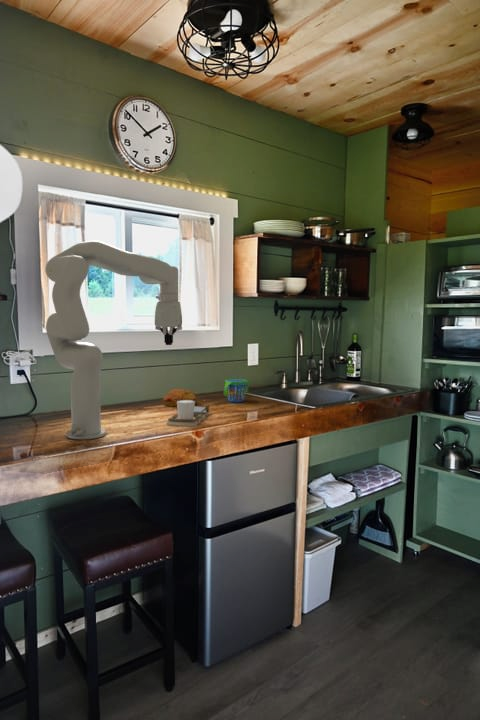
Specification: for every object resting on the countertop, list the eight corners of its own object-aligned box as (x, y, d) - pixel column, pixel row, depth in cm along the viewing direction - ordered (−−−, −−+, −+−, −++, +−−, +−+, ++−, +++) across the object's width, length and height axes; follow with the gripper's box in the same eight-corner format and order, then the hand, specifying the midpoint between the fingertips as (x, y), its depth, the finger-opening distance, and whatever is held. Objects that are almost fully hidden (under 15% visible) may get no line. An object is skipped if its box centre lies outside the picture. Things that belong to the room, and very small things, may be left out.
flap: (200, 414, 195) (200, 411, 195) (178, 413, 196) (178, 410, 196) (206, 409, 204) (206, 406, 204) (185, 408, 206) (185, 405, 206)
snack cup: (240, 398, 244) (240, 377, 243) (255, 401, 236) (255, 379, 235) (216, 401, 233) (216, 380, 232) (231, 405, 225) (232, 383, 224)
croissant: (178, 404, 237) (176, 388, 237) (202, 404, 227) (201, 386, 227) (155, 408, 225) (154, 391, 225) (180, 408, 216) (179, 389, 216)
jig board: (195, 426, 184) (195, 415, 183) (166, 424, 186) (166, 414, 185) (209, 414, 205) (209, 404, 205) (183, 412, 207) (183, 403, 207)
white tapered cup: (198, 419, 190) (198, 401, 189) (184, 422, 185) (184, 403, 184) (187, 416, 194) (187, 399, 194) (173, 419, 190) (173, 401, 189)
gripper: (147, 297, 192) (147, 345, 194) (184, 298, 189) (184, 346, 191) (153, 298, 199) (154, 343, 201) (189, 298, 196) (189, 344, 198)
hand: (168, 344), depth 196 cm, fingers closed
